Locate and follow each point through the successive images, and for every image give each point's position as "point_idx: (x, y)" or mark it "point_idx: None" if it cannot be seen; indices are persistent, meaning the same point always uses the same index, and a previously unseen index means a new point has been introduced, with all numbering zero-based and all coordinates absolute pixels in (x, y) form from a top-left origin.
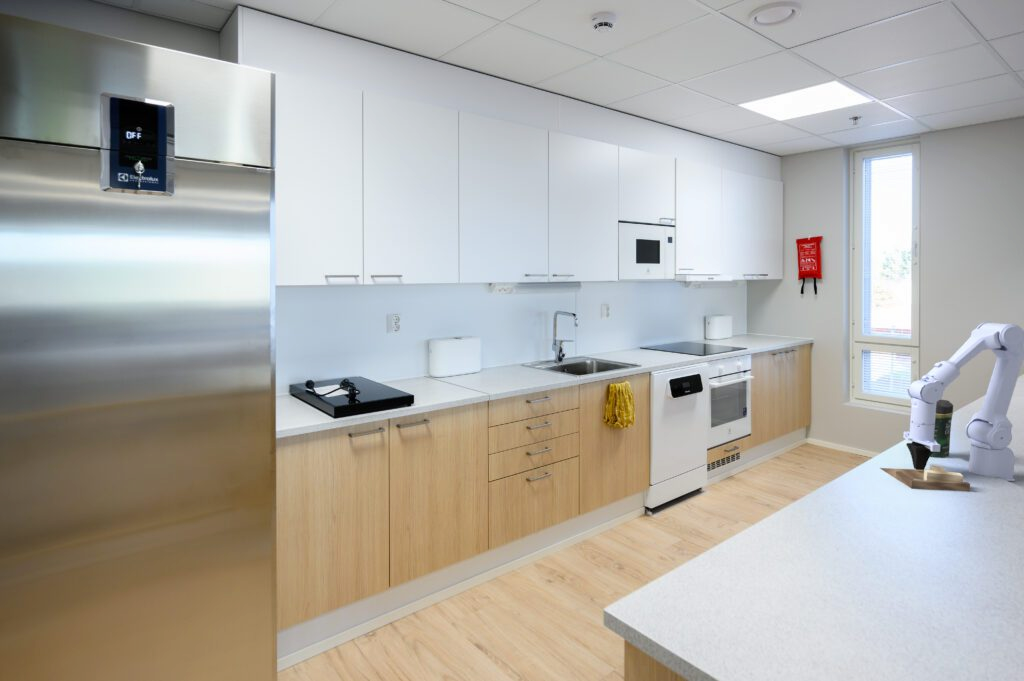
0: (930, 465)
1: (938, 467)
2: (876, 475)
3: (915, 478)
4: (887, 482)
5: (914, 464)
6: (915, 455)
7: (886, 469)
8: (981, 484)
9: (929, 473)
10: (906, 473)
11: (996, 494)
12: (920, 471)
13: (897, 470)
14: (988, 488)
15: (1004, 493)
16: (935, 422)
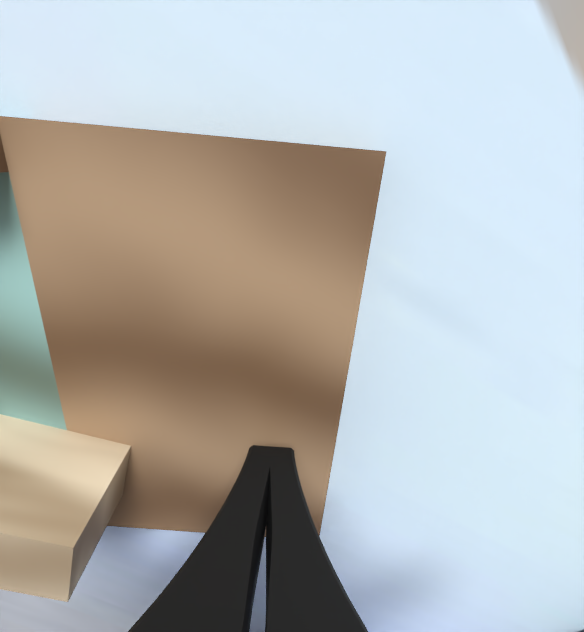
0: (67, 544)
1: (11, 568)
2: (253, 34)
3: (64, 328)
4: (6, 19)
5: (264, 472)
6: (197, 574)
7: (325, 204)
8: None
9: None
10: (209, 334)
11: (4, 594)
12: None
13: (298, 304)
14: (98, 611)
15: (36, 624)
16: None
